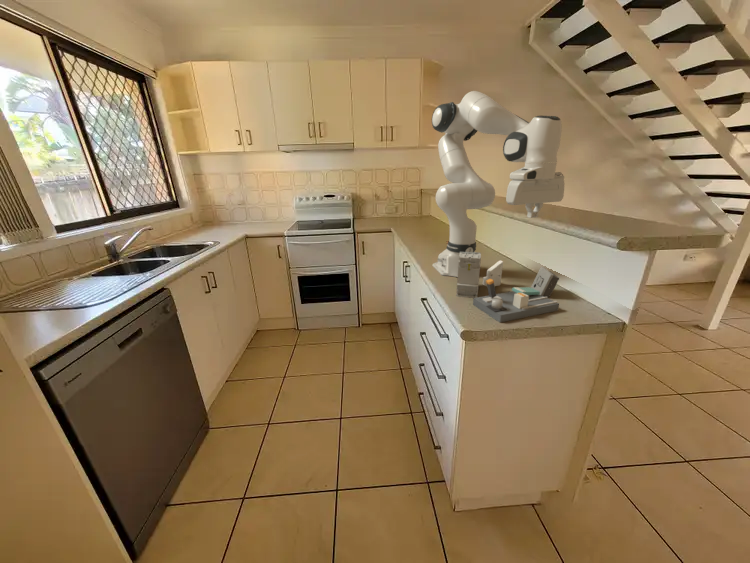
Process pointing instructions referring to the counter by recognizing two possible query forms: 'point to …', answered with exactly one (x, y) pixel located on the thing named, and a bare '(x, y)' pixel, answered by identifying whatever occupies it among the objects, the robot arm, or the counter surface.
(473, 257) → the circuit breaker
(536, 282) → the electrical switch
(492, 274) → the white angled block
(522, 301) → the cream cube orange stripe
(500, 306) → the button
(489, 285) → the toggle lever
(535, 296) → the panel
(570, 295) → the counter surface
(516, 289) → the teal tile cream strip
